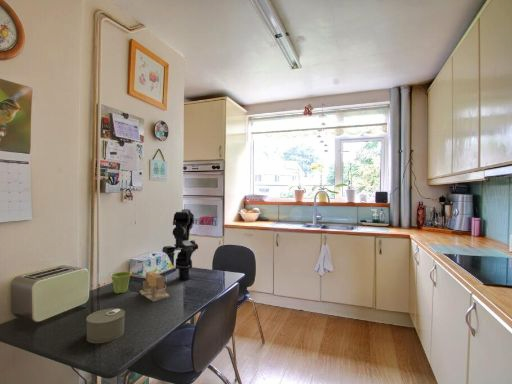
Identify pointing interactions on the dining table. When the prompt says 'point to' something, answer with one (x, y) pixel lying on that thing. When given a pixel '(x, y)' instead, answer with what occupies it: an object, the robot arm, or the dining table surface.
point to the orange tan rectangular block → (155, 280)
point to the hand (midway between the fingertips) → (180, 263)
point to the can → (105, 325)
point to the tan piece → (153, 292)
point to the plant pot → (120, 281)
